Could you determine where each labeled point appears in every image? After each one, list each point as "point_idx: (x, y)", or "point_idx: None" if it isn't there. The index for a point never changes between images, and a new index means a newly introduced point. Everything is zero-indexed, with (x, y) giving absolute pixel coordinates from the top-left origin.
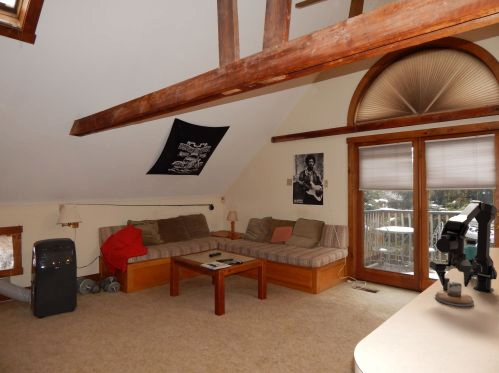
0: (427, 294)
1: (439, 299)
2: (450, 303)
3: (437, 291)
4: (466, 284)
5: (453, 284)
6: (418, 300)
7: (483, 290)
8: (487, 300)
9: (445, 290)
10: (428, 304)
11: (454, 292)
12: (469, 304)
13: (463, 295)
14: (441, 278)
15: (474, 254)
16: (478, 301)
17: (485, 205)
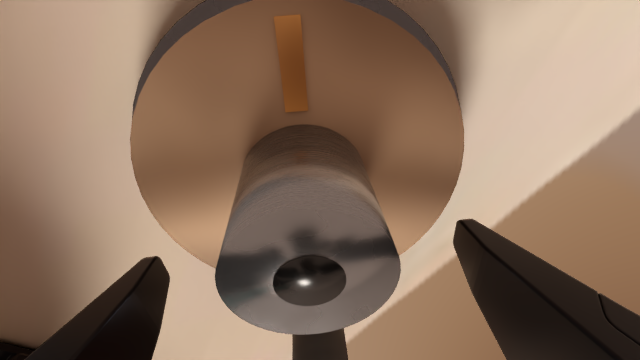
0: (443, 242)
1: None
2: (408, 15)
3: (413, 242)
4: (136, 282)
5: (349, 244)
6: (615, 108)
7: (28, 354)
8: (9, 216)
9: None
10: (606, 14)
11: (333, 154)
12: (200, 15)
13: (210, 193)
14: (605, 313)
15: None
16: (88, 181)
17: None
